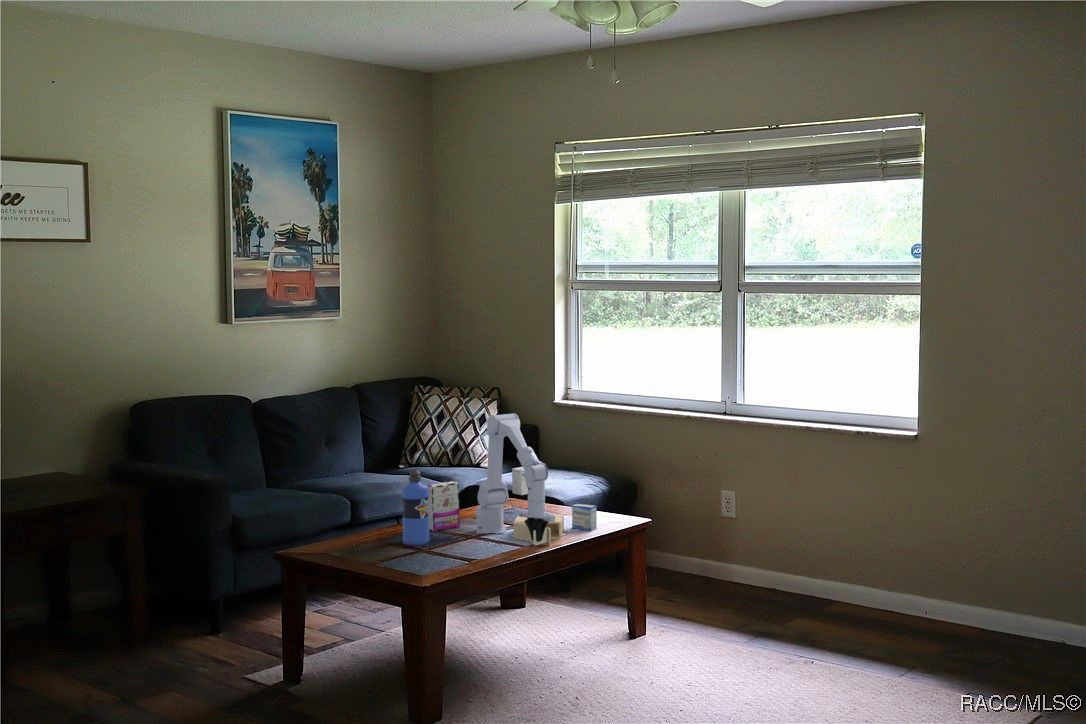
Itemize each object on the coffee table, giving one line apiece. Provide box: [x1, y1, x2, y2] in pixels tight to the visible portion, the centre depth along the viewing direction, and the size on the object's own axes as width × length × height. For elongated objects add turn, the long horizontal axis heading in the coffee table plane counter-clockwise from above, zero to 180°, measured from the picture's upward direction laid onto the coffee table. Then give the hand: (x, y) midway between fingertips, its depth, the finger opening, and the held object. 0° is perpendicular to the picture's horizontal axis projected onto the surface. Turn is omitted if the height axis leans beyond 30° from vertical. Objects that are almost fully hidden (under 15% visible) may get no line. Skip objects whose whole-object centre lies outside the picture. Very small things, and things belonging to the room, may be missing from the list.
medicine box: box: [571, 503, 598, 532], centre depth 382 cm, size 8×4×9 cm, turn 62°
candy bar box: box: [426, 480, 461, 532], centre depth 385 cm, size 11×5×16 cm, turn 126°
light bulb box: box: [511, 466, 528, 496], centre depth 450 cm, size 11×7×11 cm, turn 130°
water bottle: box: [400, 468, 430, 546], centre depth 365 cm, size 9×9×25 cm
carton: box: [513, 513, 565, 540], centre depth 374 cm, size 16×12×6 cm
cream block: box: [512, 521, 552, 546], centre depth 360 cm, size 16×7×6 cm, turn 51°
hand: (536, 540), depth 355 cm, fingers closed
